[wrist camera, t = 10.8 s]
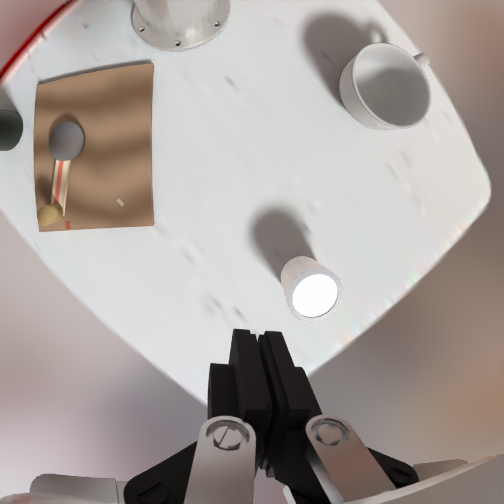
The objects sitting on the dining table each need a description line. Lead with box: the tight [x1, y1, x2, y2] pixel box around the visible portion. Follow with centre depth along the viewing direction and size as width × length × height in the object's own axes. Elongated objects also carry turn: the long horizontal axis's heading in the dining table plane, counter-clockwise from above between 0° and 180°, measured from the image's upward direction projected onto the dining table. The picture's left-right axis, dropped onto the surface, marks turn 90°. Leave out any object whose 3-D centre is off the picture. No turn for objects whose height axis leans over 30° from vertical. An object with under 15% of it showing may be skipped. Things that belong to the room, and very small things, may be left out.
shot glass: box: [281, 256, 343, 322], centre depth 38 cm, size 7×7×7 cm
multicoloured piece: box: [37, 122, 85, 226], centre depth 31 cm, size 13×5×4 cm, turn 167°
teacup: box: [339, 43, 431, 130], centre depth 32 cm, size 14×11×8 cm
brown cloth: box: [34, 63, 154, 232], centre depth 33 cm, size 20×17×1 cm
